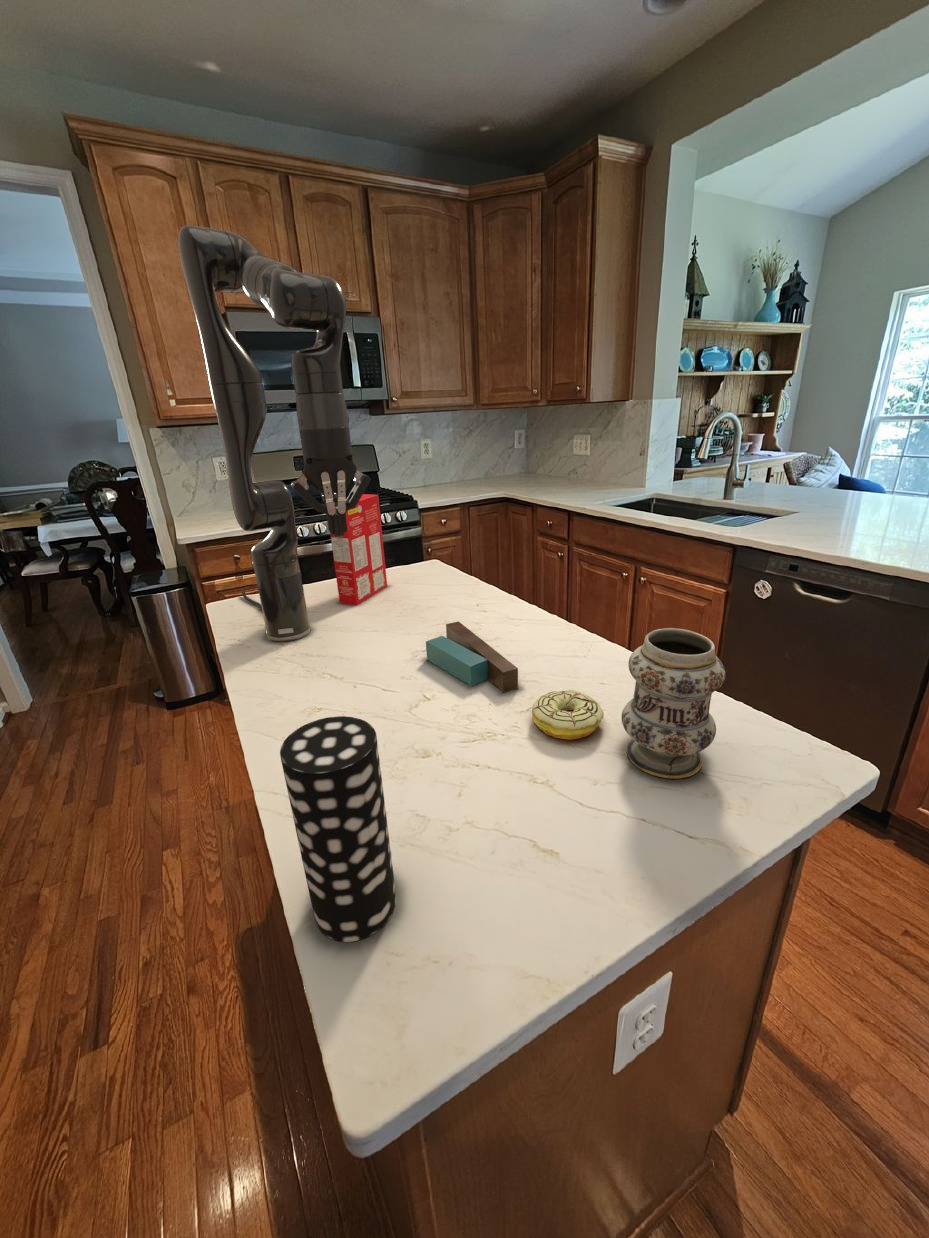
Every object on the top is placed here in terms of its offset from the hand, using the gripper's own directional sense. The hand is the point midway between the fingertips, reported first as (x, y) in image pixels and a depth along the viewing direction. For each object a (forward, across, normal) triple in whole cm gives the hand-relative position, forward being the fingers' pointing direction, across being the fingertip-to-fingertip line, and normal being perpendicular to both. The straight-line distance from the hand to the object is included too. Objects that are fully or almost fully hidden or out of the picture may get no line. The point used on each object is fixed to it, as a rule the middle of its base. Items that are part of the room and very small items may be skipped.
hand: (338, 535), depth 88 cm
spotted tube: (+27, +13, +47) cm, 56 cm away
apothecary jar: (+27, -32, +44) cm, 61 cm away
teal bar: (+27, -18, +6) cm, 33 cm away
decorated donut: (+27, -25, +31) cm, 48 cm away
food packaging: (+27, -14, -44) cm, 54 cm away
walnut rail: (+27, -22, +6) cm, 36 cm away
